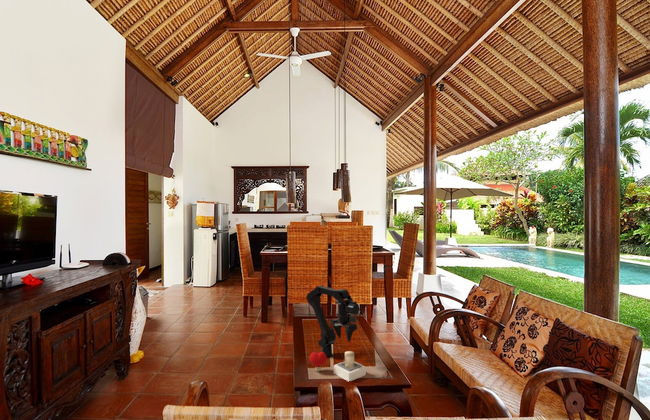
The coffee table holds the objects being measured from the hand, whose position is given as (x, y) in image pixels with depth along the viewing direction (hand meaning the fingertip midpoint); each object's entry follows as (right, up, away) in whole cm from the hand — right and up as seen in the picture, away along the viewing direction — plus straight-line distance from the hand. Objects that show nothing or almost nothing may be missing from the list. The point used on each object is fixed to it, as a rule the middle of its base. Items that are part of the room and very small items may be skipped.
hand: (344, 339), depth 192 cm
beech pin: (+2, -12, -15) cm, 20 cm away
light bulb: (-15, -13, -12) cm, 23 cm away
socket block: (+2, -12, -15) cm, 20 cm away
